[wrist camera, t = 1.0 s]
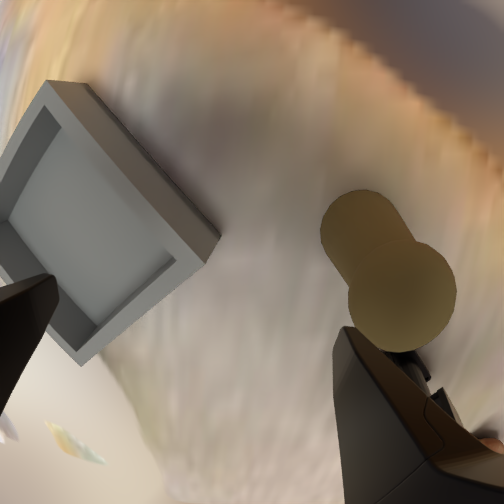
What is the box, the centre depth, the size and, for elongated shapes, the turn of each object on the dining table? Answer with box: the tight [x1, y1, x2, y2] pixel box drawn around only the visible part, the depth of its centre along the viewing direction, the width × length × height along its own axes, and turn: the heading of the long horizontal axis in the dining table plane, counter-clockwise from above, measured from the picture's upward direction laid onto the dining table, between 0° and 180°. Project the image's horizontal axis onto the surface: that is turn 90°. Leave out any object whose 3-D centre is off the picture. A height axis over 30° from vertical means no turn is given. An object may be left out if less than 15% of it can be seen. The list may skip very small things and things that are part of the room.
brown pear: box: [320, 190, 457, 352], centre depth 17 cm, size 6×6×11 cm
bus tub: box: [0, 80, 221, 367], centre depth 21 cm, size 16×16×5 cm
